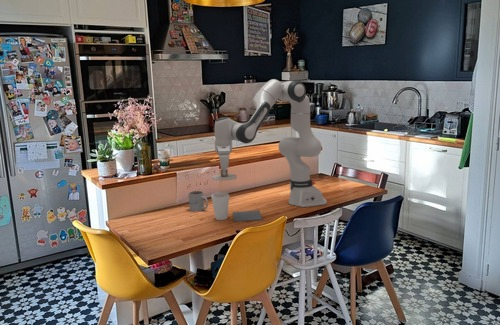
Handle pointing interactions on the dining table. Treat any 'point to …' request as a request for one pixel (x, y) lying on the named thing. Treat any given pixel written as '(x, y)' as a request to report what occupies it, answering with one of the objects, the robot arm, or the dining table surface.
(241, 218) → the mat
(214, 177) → the lid
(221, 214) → the foam cup
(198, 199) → the mug
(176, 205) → the dining table surface
